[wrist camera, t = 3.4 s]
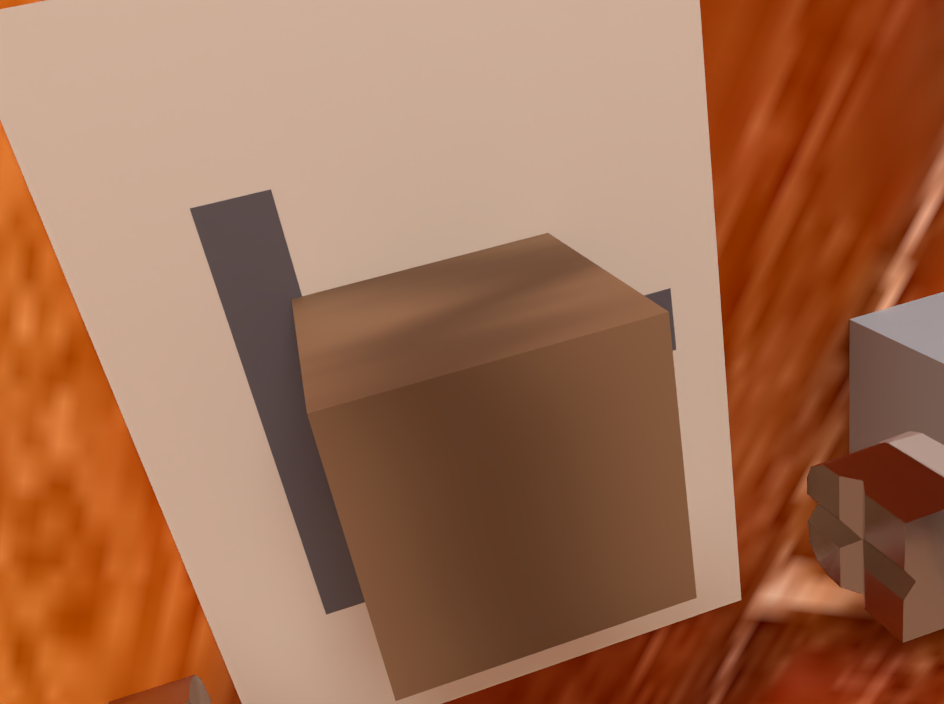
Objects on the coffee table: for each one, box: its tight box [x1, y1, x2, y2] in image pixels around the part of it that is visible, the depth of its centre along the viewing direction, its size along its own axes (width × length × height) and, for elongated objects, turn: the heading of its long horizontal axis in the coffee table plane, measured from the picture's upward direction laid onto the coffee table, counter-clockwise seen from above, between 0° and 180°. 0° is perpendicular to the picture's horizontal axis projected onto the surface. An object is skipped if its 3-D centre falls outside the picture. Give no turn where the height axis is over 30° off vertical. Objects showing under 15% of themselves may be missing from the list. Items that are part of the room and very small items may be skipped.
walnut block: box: [291, 233, 697, 701], centre depth 14 cm, size 5×5×5 cm
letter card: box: [0, 0, 741, 704], centre depth 16 cm, size 12×16×1 cm
